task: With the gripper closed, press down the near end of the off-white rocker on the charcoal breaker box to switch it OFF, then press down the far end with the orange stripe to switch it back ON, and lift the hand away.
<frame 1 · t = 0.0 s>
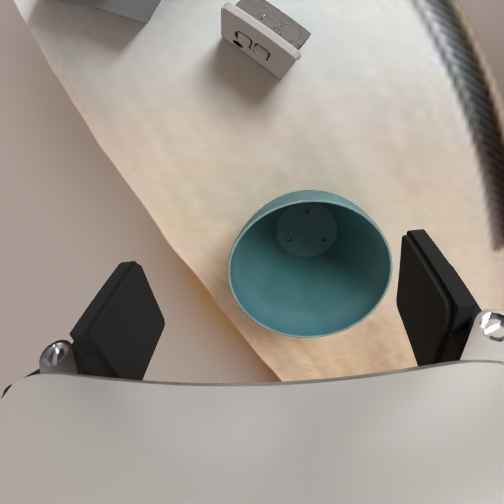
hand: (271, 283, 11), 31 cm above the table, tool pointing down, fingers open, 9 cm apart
electrical switch: (263, 41, 32), on the table
plant pot: (305, 228, 44), on the table
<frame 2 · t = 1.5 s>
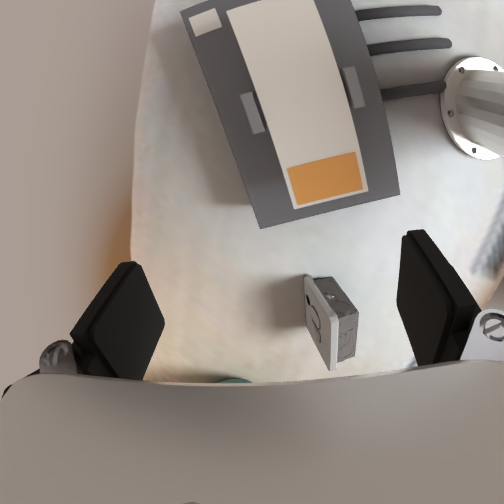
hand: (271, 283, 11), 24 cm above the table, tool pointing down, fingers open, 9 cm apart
breaker rocker: (303, 98, 20), point 10 cm above the table, hinge at 0.0°
three grey prongs: (410, 72, 26), on the table
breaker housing: (296, 94, 29), on the table
electrical switch: (324, 297, 42), on the table
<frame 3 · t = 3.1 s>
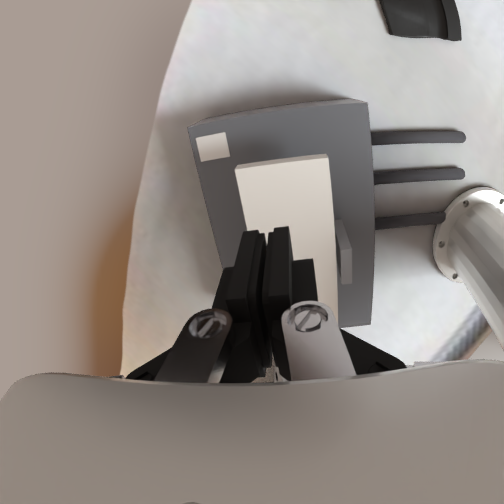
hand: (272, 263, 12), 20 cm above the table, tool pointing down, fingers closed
breaker rocker: (296, 265, 24), point 10 cm above the table, hinge at 0.0°
three grey prongs: (413, 200, 30), on the table
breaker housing: (294, 212, 32), on the table
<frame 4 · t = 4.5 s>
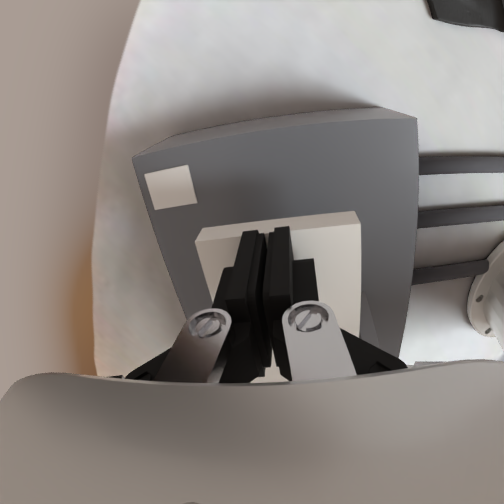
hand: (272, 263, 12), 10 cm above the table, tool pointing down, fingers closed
breaker rocker: (296, 369, 15), point 10 cm above the table, hinge at 1.5°, touching gripper
three grey prongs: (452, 247, 21), on the table
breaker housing: (296, 264, 24), on the table
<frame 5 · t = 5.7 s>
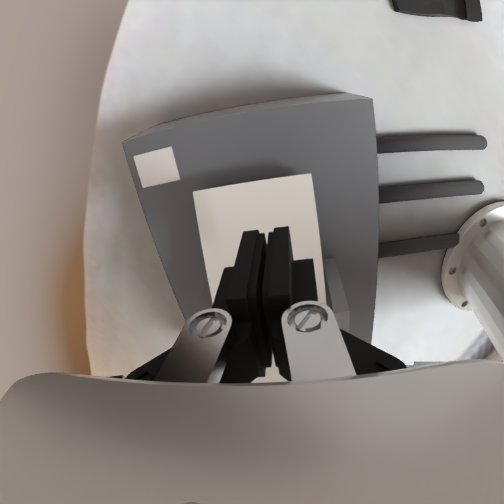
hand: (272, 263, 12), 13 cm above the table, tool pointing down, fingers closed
breaker rocker: (273, 327, 17), point 10 cm above the table, hinge at 20.2°
three grey prongs: (421, 221, 24), on the table
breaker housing: (273, 239, 26), on the table
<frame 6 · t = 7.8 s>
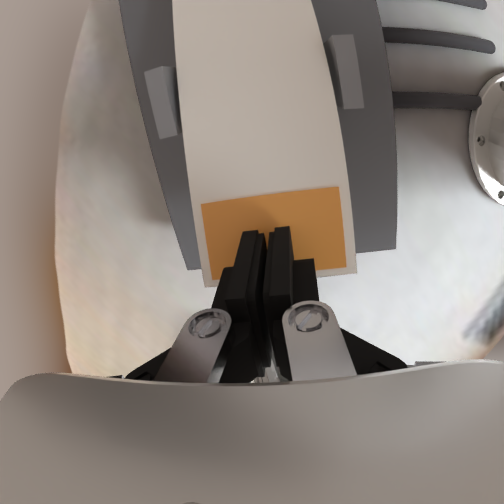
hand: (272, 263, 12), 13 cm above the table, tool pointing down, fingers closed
breaker rocker: (253, 81, 11), point 10 cm above the table, hinge at 20.3°, touching gripper
three grey prongs: (435, 75, 18), on the table
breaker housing: (267, 82, 20), on the table
electrical switch: (277, 347, 33), on the table
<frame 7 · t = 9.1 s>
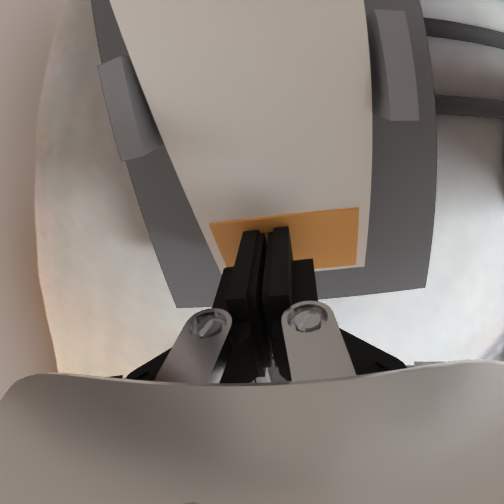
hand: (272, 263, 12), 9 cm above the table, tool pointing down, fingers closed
breaker rocker: (256, 76, 7), point 10 cm above the table, hinge at -18.3°, touching gripper
three grey prongs: (471, 77, 14), on the table
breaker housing: (273, 79, 16), on the table
electrical switch: (281, 376, 30), on the table
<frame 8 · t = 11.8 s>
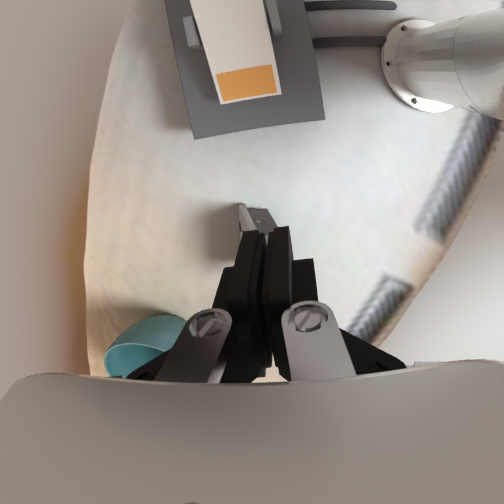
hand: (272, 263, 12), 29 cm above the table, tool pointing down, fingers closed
breaker rocker: (232, 23, 22), point 10 cm above the table, hinge at -20.1°
three grey prongs: (353, 26, 28), on the table
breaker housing: (245, 37, 31), on the table
electrical switch: (259, 231, 44), on the table
plant pot: (174, 330, 56), on the table
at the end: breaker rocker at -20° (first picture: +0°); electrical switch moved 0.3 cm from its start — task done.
